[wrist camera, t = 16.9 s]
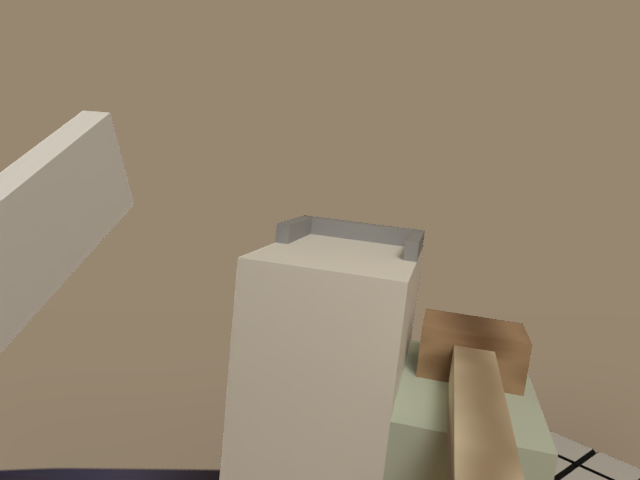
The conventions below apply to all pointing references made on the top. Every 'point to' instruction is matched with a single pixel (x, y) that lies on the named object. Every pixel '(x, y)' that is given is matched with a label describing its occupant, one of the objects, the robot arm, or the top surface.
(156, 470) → the top surface
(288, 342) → the stepped plinth
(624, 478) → the puzzle cube
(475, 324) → the mallet
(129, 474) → the top surface
